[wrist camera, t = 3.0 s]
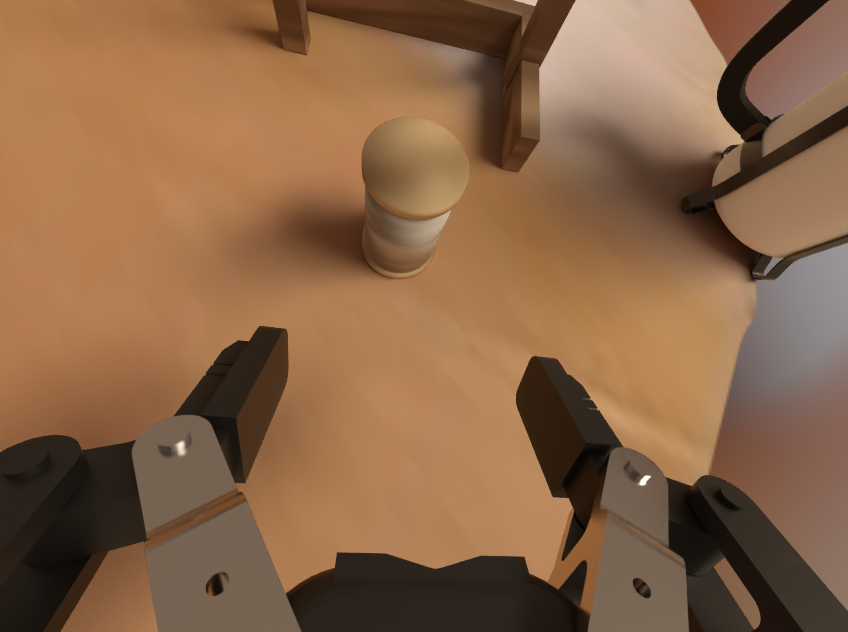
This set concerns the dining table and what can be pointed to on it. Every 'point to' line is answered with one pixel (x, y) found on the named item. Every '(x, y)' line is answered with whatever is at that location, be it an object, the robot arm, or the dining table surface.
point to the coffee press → (781, 161)
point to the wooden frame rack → (459, 44)
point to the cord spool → (409, 193)
